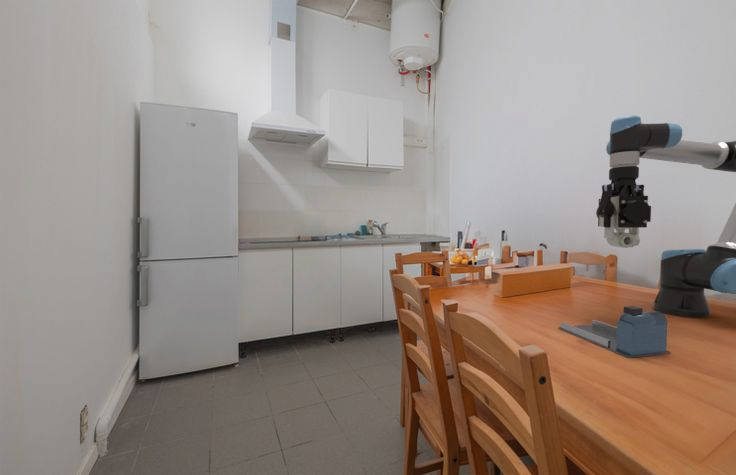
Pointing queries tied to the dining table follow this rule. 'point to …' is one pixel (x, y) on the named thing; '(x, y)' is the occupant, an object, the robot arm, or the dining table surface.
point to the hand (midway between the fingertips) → (621, 237)
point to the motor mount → (627, 333)
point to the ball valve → (627, 219)
